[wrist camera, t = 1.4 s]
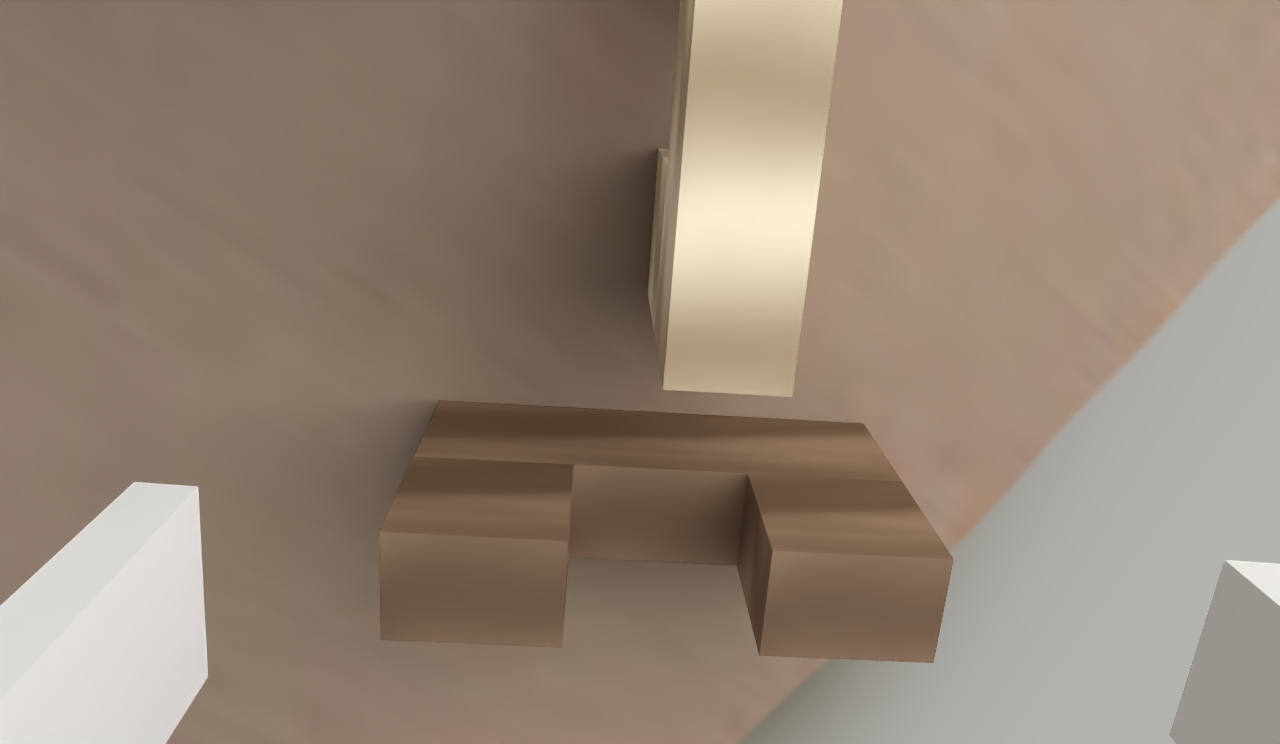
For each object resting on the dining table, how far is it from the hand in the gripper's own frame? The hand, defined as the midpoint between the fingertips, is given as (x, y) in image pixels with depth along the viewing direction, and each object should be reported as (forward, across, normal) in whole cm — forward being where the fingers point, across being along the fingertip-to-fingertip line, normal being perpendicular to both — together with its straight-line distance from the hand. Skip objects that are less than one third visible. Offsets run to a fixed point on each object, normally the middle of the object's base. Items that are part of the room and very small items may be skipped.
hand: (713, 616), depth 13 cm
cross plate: (+19, +1, +6) cm, 20 cm away
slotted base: (+19, 0, -6) cm, 20 cm away
